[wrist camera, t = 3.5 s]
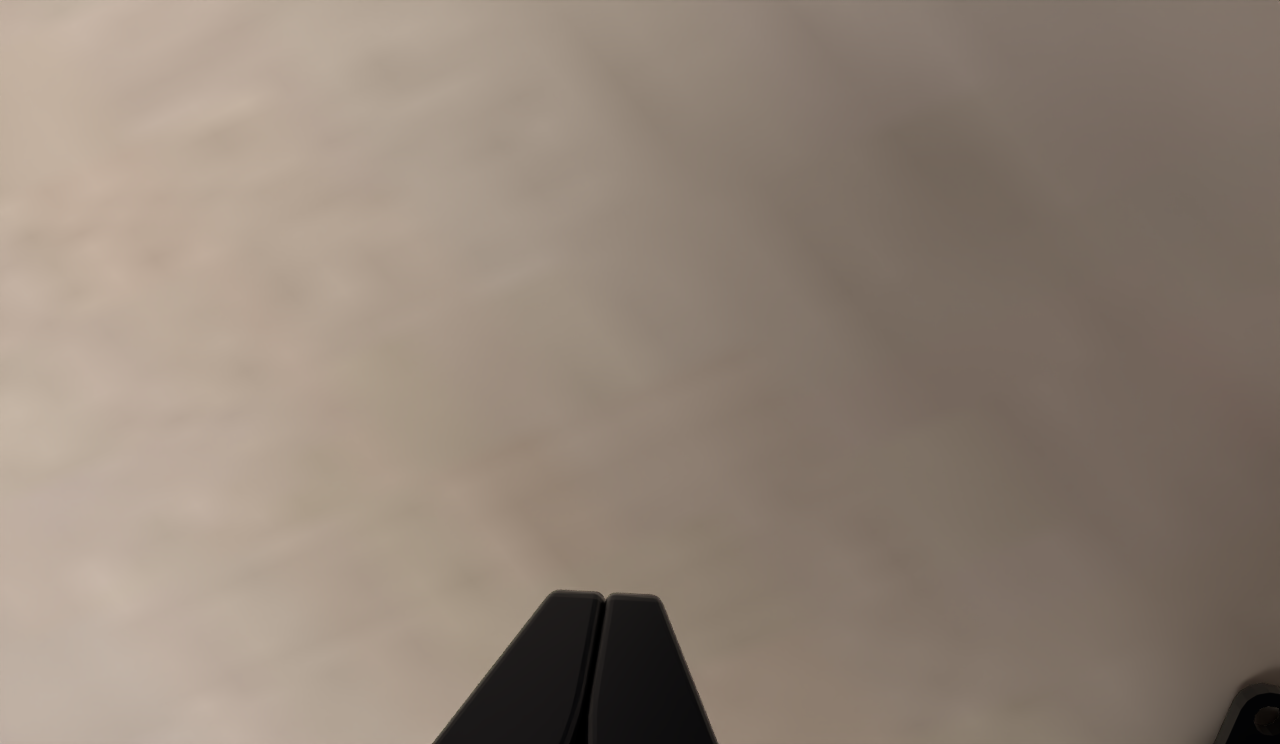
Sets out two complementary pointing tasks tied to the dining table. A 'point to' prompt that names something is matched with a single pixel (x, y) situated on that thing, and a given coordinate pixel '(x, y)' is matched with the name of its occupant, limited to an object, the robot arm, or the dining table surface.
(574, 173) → the dining table surface
